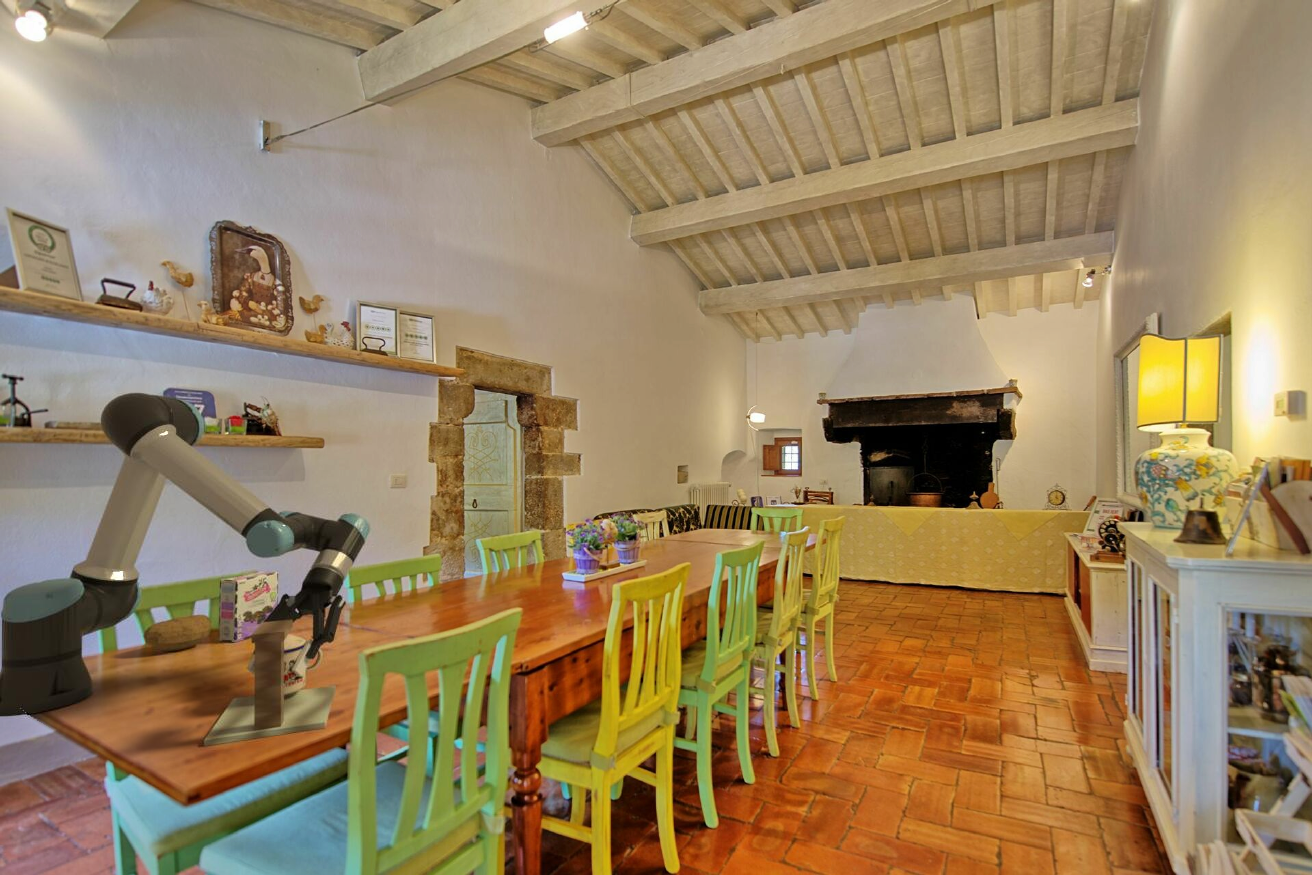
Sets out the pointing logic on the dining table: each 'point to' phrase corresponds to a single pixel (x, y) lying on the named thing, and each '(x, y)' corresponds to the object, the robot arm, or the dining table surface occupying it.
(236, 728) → the stand
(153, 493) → the robot arm
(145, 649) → the dining table surface
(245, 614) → the candy box
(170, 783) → the dining table surface
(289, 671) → the teacup with lid
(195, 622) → the potato
